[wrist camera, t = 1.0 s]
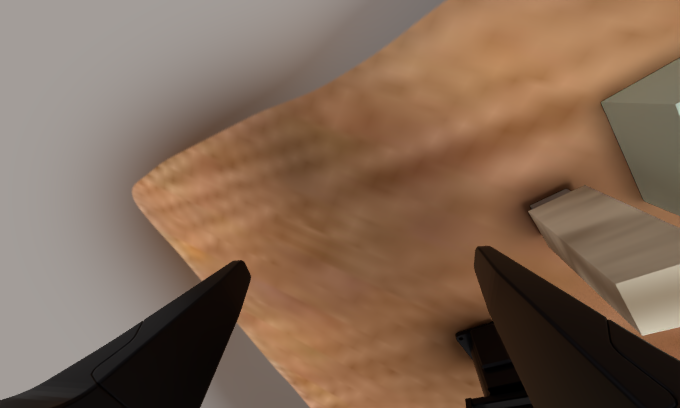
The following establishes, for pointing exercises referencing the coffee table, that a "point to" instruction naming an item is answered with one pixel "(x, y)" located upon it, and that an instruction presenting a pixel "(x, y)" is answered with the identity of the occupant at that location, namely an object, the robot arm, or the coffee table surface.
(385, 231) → the coffee table surface
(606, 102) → the green square frame
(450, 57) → the coffee table surface
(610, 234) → the beige rectangular block
